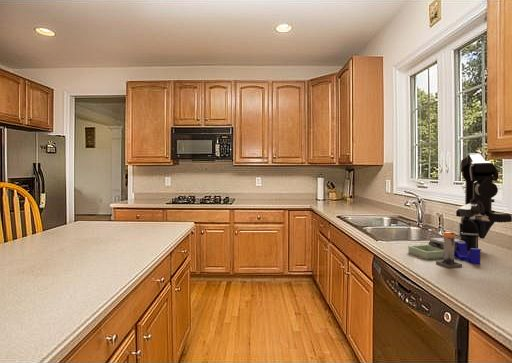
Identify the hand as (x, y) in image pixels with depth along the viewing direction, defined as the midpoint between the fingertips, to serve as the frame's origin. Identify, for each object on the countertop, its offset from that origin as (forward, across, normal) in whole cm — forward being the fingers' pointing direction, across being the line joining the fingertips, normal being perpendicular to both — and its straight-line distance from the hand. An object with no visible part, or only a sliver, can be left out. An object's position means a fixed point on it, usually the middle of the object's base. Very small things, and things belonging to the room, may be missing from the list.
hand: (482, 238), depth 124 cm
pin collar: (+11, -5, -10) cm, 15 cm away
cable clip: (+11, -10, +2) cm, 15 cm away
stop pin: (+11, -5, -10) cm, 15 cm away
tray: (+11, -20, -7) cm, 24 cm away
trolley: (+10, -20, +3) cm, 23 cm away
